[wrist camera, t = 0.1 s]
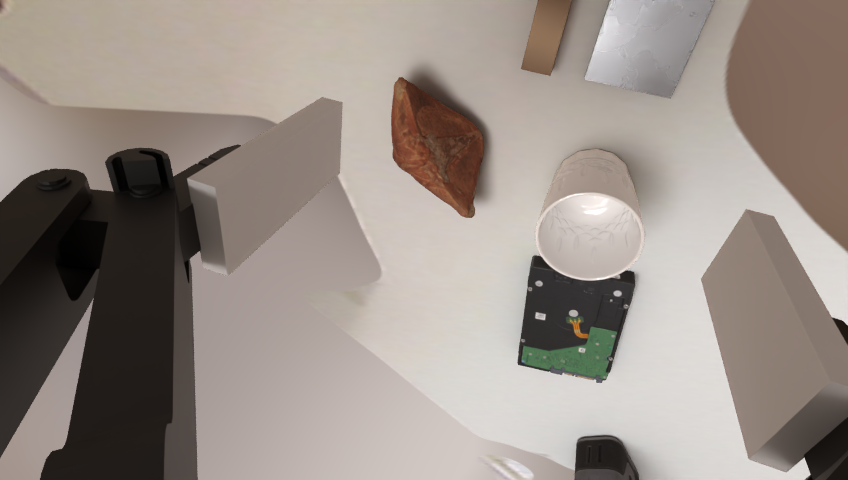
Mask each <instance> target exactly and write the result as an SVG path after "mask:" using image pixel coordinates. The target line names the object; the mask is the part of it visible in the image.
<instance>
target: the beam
mask: <svg viewBox="0 0 848 480" xmlns="http://www.w3.org/2000/svg"><path fill="white" fill-rule="evenodd" d="M571 3H572V0H538V3H537V7H536V11H535V15H534V19H533V23H532V27H531V31H530V35H529V39H528V43H527V47H526V51H525V55H524V59H523V63H522V67H521V69H522V70H527V71H531V72H536V73H540V74H545V75H549V76H550V75H551V72H552V69H553V66H554V62H555V59H556V55H557V52H558V49H559V45H560V42H561V38H562V35H563V31H564V28H565V24H566V21H567V17H568V14H569V10H570V7H571Z"/></svg>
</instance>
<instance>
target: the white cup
mask: <svg viewBox="0 0 848 480" xmlns="http://www.w3.org/2000/svg"><path fill="white" fill-rule="evenodd" d="M535 241H536V246H537V249H538V251H539V253H540V255H541V256H542V258H543V259H544V261H545V262H546V263H547V264H548V265H549V266H550V267H552V268H553V269H554V270H556V271H557V272H559V273H561V274H563V275H565V276H568V277H571V278H574V279H579V280H588V281H594V280H603V279H607V278H611V277H614V276H616V275H618V274H620V273H622V272H624V271H626V270H627V269H628V268H630V267H631V266H632V265H633V264H634V263H635V262H636V260H637V259H638V258H639V256H640V254H641V252H642V250H643V247H644V242H645V232H644V227H643V222H642V218H641V213H640V208H639V203H638V199H637V196H636V192H635V188H634V185H633V182H632V179H631V176H630V174H629V171H628V169H627V166H626V164H625V163H624V162H623V161H622V160H620V159H619V158H618V157H617V156H616V155H615V154H613V153H610V152H606V151H603V150H599V149H591V150H585V151H578V152H577V153H575V154H573V155H572V156H570V157H568V158H567V159H565V160H564V161H563V162H562V164H561V165H560V167H559V168H558V170H557V172H556V173H555V176H554V179H553V181H552V183H551V185H550V188H549V191H548V193H547V196H546V198H545V201H544V205H543V208H542V211H541V214H540V217H539V220H538V223H537V226H536V230H535Z"/></svg>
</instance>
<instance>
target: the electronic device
mask: <svg viewBox="0 0 848 480" xmlns="http://www.w3.org/2000/svg"><path fill="white" fill-rule="evenodd" d="M575 480H639V476H638V473H637V471H636V469H635V467H634V465H633V463H632V461H631V459H630V457H629V456H628V454H627V452H626V450H625V448H624V446H623V445H622V443H621V442H620V441H619V440H617V439H616V438H613V437H610V436H603V437H588V438H582V439H580V440H578V442H577V447H576V464H575Z"/></svg>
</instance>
